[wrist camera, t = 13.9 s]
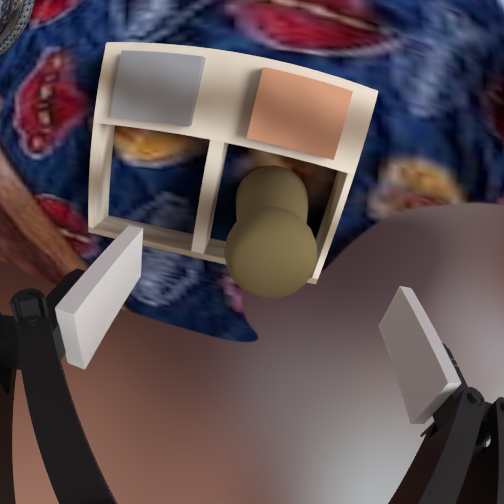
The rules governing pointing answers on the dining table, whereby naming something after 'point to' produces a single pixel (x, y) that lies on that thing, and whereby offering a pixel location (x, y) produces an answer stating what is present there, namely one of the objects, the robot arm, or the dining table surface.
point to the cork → (271, 234)
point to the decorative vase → (13, 21)
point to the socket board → (224, 127)
